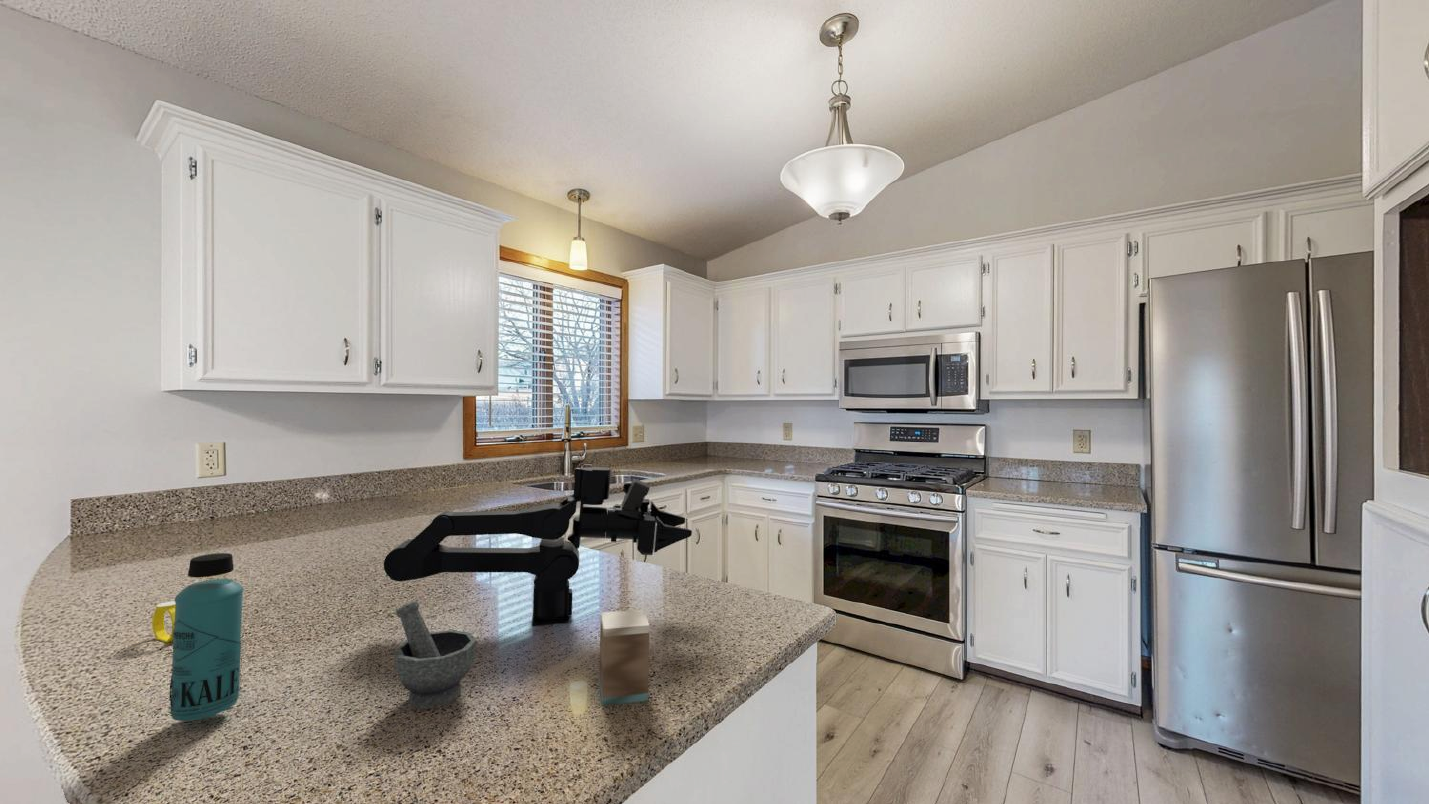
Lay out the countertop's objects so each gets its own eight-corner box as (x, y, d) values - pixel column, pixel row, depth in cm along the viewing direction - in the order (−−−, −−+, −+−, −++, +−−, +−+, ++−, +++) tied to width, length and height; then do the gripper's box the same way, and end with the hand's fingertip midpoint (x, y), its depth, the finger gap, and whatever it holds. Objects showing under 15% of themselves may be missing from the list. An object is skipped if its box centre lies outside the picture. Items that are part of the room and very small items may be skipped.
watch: (146, 642, 90) (146, 604, 90) (168, 635, 92) (168, 599, 93) (167, 645, 88) (167, 607, 88) (189, 639, 90) (189, 602, 91)
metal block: (602, 706, 72) (603, 629, 73) (599, 684, 78) (600, 612, 78) (648, 700, 74) (649, 625, 74) (641, 679, 80) (643, 609, 80)
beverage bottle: (198, 706, 71) (204, 548, 71) (254, 704, 71) (259, 548, 71) (151, 736, 64) (157, 562, 64) (212, 734, 65) (218, 562, 65)
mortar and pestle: (489, 685, 77) (492, 599, 77) (438, 721, 68) (441, 623, 68) (424, 673, 80) (426, 590, 80) (367, 706, 71) (369, 612, 72)
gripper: (610, 490, 95) (699, 495, 98) (610, 472, 114) (685, 476, 117) (604, 554, 96) (693, 557, 99) (605, 526, 114) (680, 529, 117)
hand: (688, 526), depth 108 cm, fingers open, 9 cm apart
